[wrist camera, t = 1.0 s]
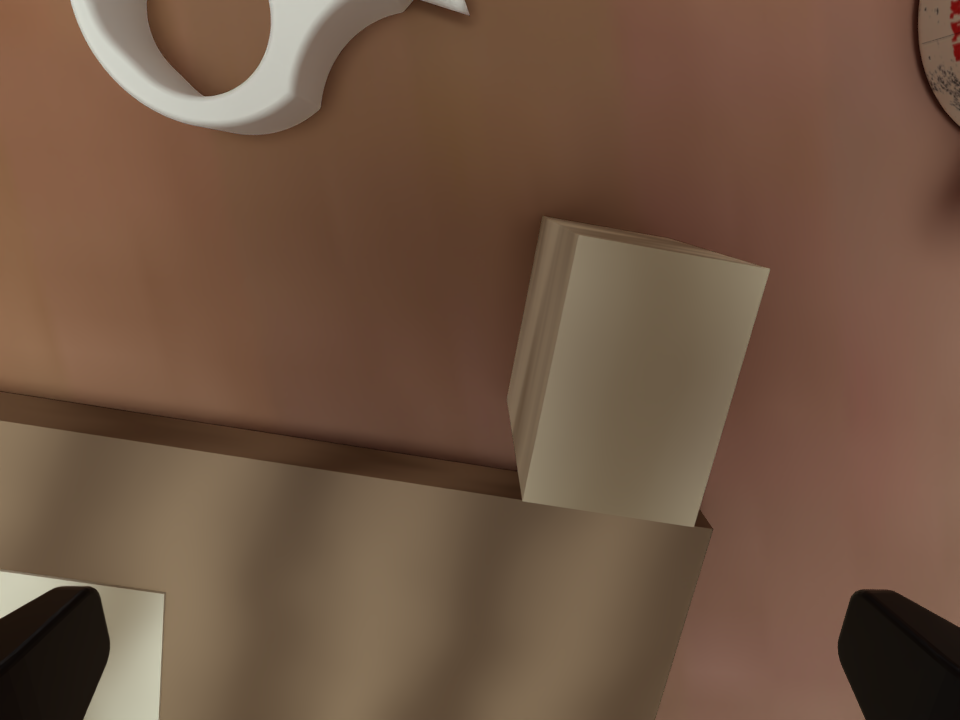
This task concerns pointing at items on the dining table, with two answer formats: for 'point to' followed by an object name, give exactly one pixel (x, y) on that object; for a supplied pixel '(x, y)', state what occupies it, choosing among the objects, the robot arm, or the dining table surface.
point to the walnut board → (332, 576)
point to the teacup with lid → (941, 51)
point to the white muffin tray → (274, 84)
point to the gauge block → (626, 369)
